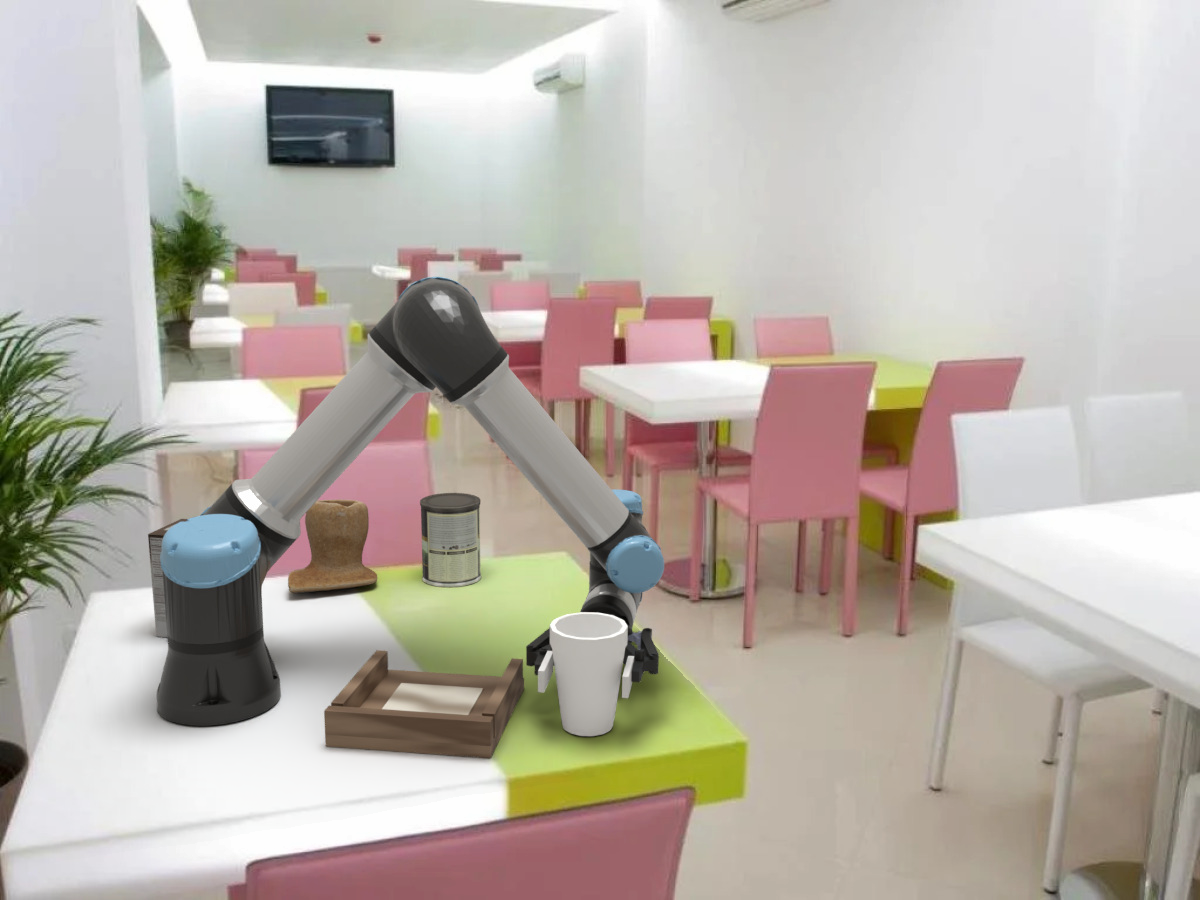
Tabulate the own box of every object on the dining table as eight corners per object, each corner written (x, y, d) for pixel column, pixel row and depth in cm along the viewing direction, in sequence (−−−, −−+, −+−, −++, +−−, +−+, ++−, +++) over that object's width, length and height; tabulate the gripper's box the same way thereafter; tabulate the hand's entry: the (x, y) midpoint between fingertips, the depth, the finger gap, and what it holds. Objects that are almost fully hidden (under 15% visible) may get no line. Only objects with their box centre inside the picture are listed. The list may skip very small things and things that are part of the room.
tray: (379, 679, 153) (378, 648, 152) (524, 688, 151) (524, 656, 150) (325, 746, 134) (324, 710, 133) (490, 758, 131) (490, 722, 130)
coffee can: (409, 578, 196) (407, 499, 193) (456, 565, 203) (455, 489, 201) (446, 591, 189) (445, 510, 186) (493, 578, 196) (492, 500, 194)
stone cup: (369, 571, 200) (366, 488, 197) (382, 591, 189) (380, 505, 186) (281, 580, 194) (277, 495, 191) (289, 602, 183) (285, 512, 180)
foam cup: (535, 720, 141) (535, 622, 138) (594, 702, 146) (595, 607, 144) (580, 749, 133) (581, 645, 131) (640, 728, 139) (642, 629, 136)
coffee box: (188, 616, 176) (181, 517, 173) (225, 619, 175) (219, 519, 172) (154, 637, 167) (146, 533, 164) (193, 640, 166) (186, 536, 163)
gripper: (685, 650, 155) (675, 720, 133) (527, 640, 158) (492, 707, 136) (687, 598, 154) (676, 660, 132) (527, 589, 156) (491, 649, 135)
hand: (583, 684), depth 134 cm, fingers closed on foam cup, 9 cm apart
